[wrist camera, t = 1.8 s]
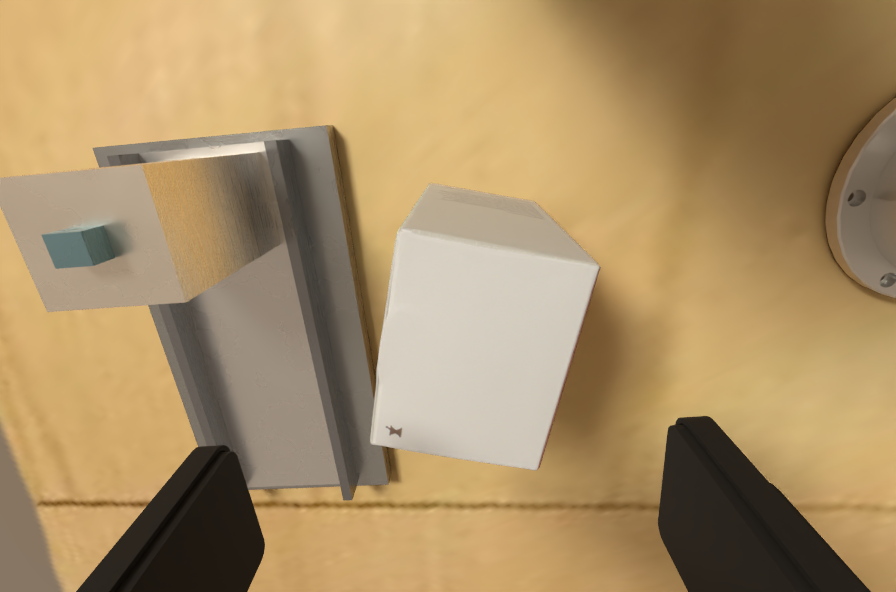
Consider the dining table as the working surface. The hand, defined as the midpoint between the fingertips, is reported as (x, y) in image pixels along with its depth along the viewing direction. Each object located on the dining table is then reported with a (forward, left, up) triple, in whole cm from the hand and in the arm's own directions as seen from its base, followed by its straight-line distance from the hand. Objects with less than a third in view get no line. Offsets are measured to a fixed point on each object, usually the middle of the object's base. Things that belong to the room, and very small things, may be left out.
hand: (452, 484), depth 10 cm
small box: (-1, 0, -18) cm, 18 cm away
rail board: (+13, +4, -18) cm, 22 cm away
